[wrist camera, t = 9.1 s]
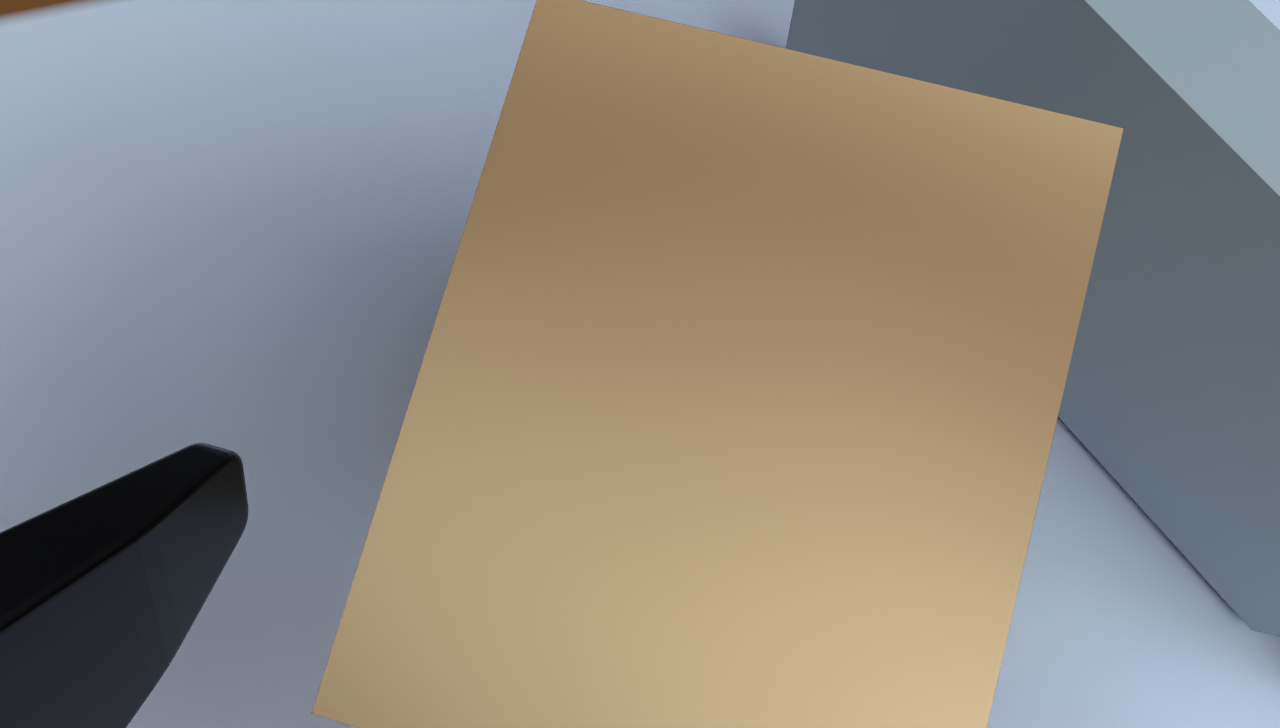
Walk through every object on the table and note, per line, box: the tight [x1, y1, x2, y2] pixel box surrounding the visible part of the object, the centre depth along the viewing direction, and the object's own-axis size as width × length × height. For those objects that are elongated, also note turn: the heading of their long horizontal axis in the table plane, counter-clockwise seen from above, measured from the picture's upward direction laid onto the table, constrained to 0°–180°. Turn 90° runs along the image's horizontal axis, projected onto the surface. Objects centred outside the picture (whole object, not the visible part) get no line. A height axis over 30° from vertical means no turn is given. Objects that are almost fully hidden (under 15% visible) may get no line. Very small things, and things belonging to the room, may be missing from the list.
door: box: [786, 0, 1280, 636], centre depth 14 cm, size 1×13×9 cm, turn 39°
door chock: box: [311, 0, 1123, 728], centre depth 12 cm, size 5×4×12 cm
